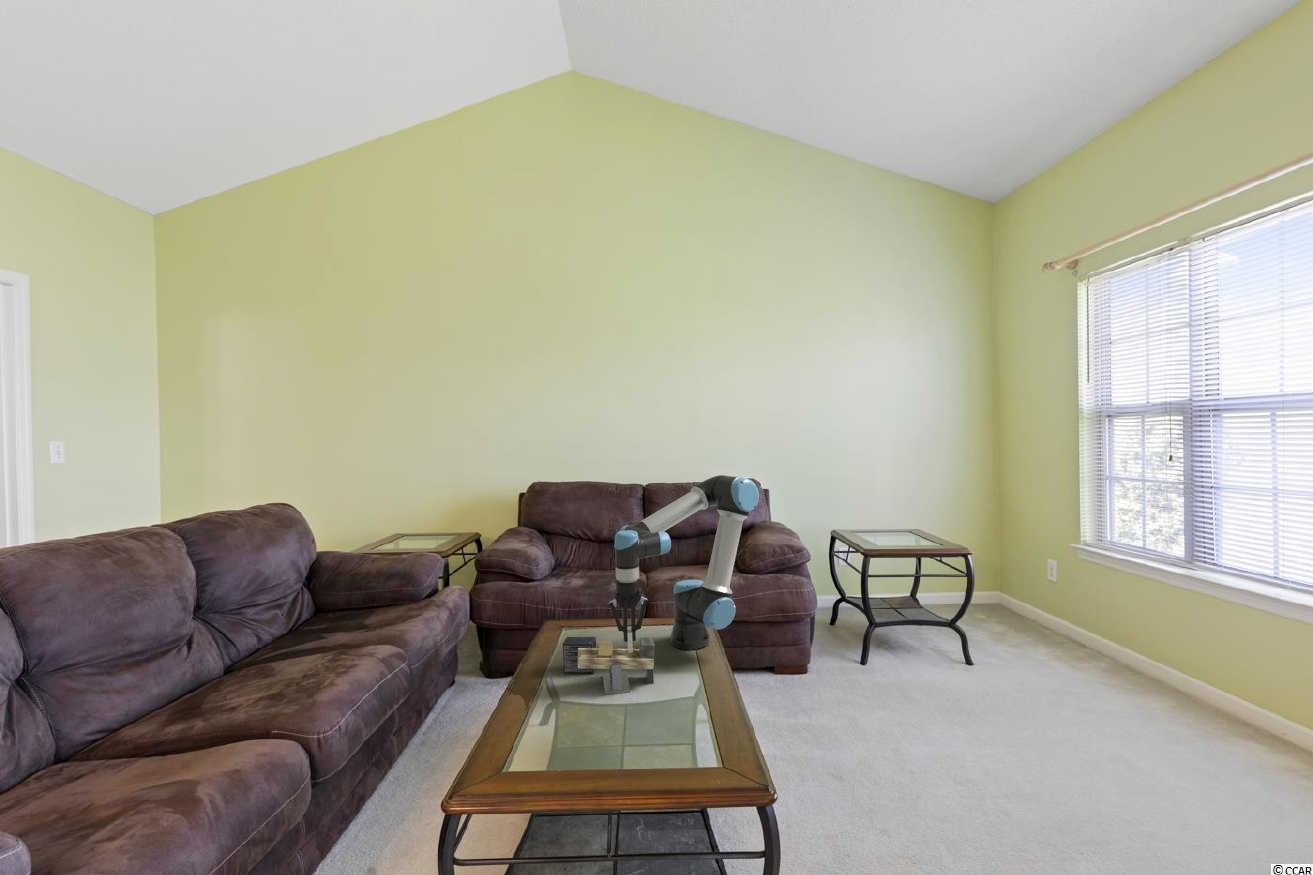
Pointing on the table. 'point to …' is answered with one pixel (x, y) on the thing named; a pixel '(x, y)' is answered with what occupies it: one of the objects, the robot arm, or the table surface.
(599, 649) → the block
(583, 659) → the beam
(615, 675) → the fulcrum
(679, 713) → the table surface
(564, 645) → the small box
